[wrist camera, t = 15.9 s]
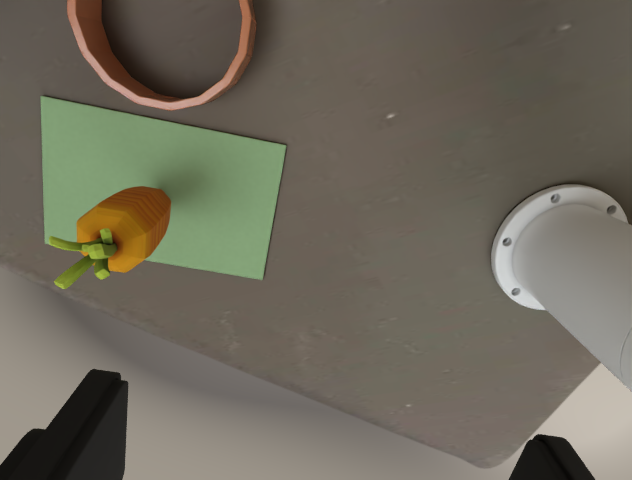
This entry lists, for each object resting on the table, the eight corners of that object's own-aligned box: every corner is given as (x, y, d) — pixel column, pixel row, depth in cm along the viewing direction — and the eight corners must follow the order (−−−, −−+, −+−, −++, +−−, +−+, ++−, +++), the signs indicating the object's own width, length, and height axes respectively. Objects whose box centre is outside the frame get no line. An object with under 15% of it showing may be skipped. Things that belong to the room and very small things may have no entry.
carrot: (145, 228, 38) (55, 316, 24) (124, 175, 36) (14, 238, 22) (198, 216, 38) (138, 299, 24) (179, 162, 36) (103, 218, 22)
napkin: (286, 145, 36) (286, 145, 36) (262, 278, 41) (262, 279, 40) (42, 95, 34) (40, 96, 34) (46, 242, 39) (44, 243, 38)
